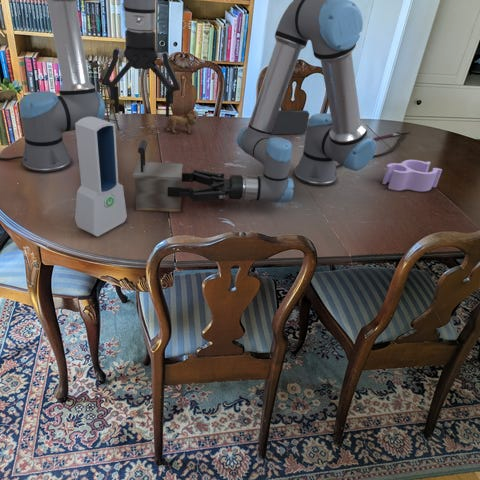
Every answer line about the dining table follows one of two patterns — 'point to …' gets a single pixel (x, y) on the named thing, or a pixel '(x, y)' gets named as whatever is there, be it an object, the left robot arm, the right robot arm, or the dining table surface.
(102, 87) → the miniature windmill
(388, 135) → the sword
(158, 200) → the chest
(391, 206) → the dining table surface
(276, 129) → the handheld gaming console
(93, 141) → the electronic device
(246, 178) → the right robot arm
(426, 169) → the clip
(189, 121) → the lion figurine
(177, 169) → the lid
